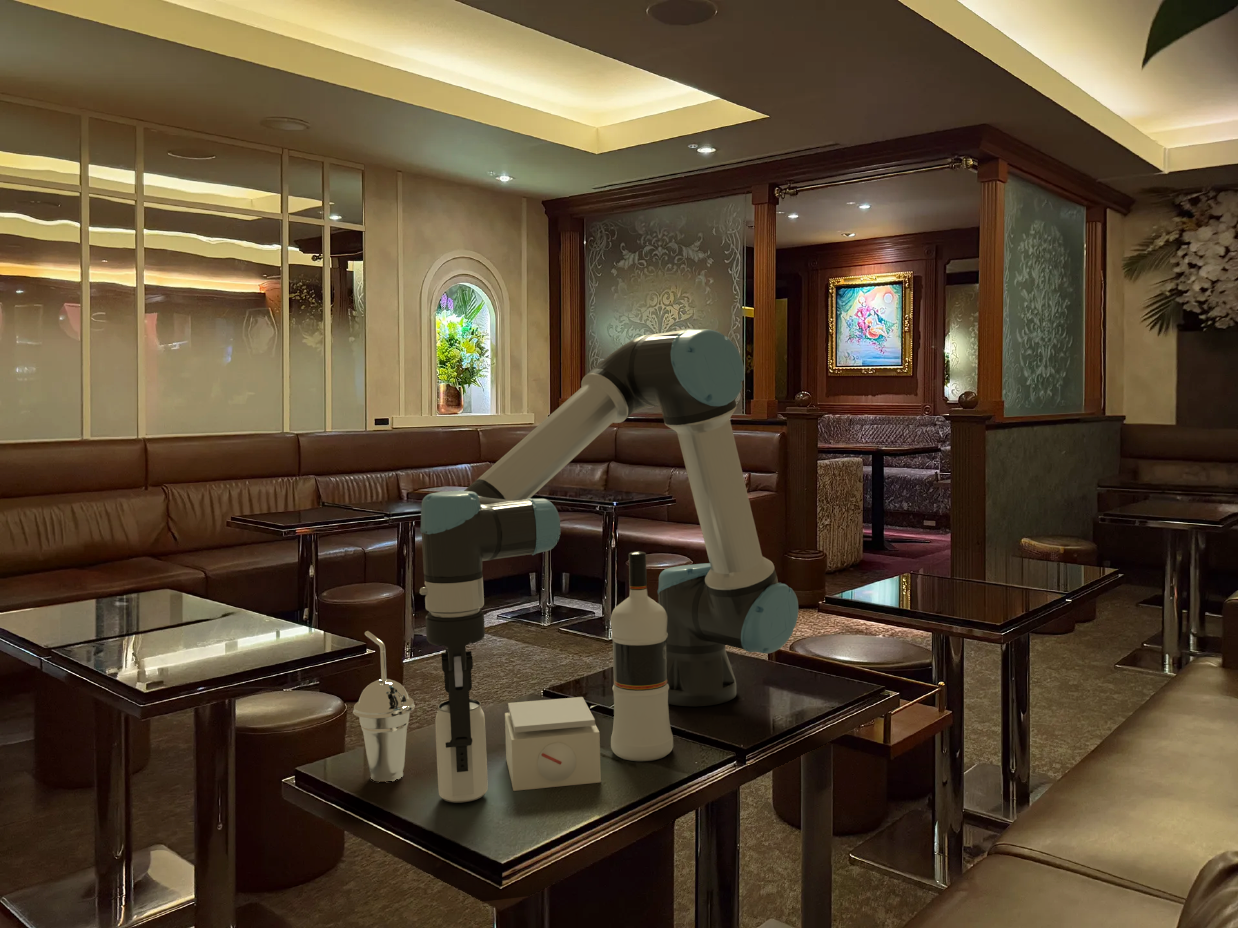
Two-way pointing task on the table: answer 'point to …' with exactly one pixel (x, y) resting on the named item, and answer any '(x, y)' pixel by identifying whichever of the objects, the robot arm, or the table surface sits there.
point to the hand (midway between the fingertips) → (462, 785)
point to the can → (445, 753)
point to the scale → (551, 744)
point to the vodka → (640, 672)
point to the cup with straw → (384, 722)
